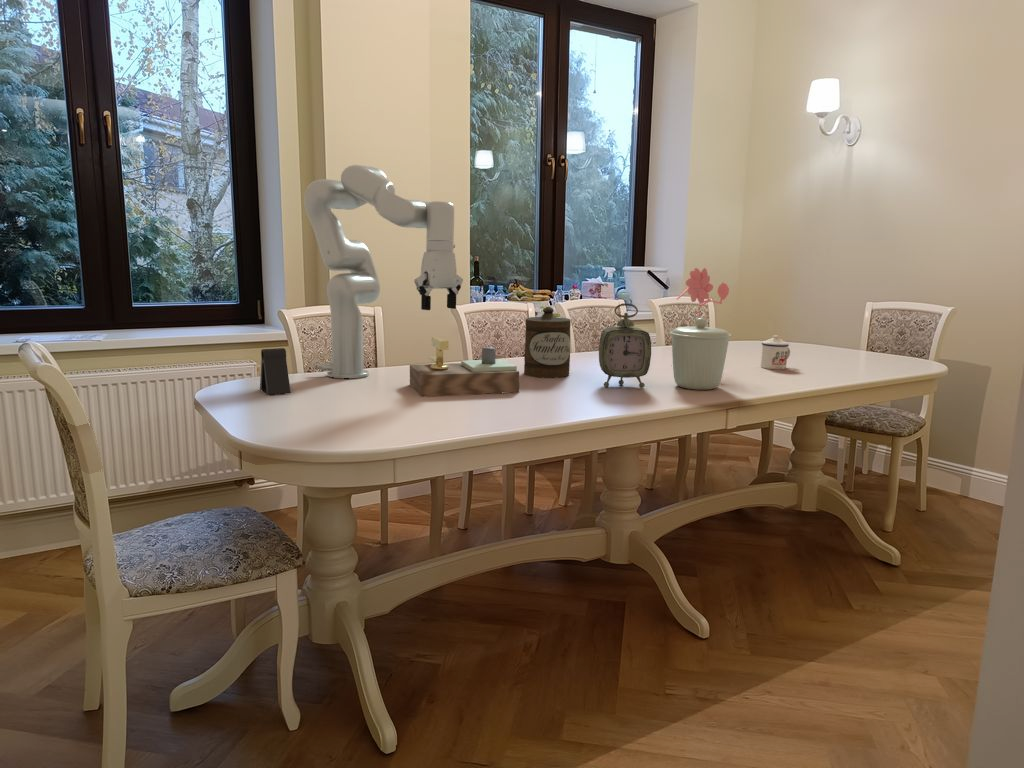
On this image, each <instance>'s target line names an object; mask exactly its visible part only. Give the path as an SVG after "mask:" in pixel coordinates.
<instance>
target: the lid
mask: <svg viewBox="0 0 1024 768" xmlns="http://www.w3.org/2000/svg"><path fill="white" fill-rule="evenodd" d="M496 349H497V348H496V347H495V346H494V347H491V346H485V347H481V359H478V360H477V359H476V360H475V359H474V360H473V359H472V360H471V359H470V360H461V361H460V363H461V365H463V366H464V367H466V368H468V369H469V370H471V371H472V372H482V371H512V370H517V371H518V369H517V368H518V367H517V365H515V364H513V363H511V362H509V361H507V360H505V359H496V356H497V355H496V353H497V352H496Z"/></svg>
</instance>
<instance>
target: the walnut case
mask: <svg viewBox="0 0 1024 768" xmlns="http://www.w3.org/2000/svg"><path fill="white" fill-rule="evenodd" d="M431 365H436V363H427V364H426V363H425V364H424V363H423V364H419V363H417V364H409V386H410V387H411V388H412V389H414V391H415V392H417V393H418V395H420V397H421V398H422V397H424V396H426V397H443V396H442V395H450V396H463V395H462V394H474V395H486V394H485V393H497V394H503V393H502V392H519V393H520V371H519V370H518V369H517V370H512V371H482V372H472V371H471V370H469V369H468V368H466V367H464V366H463V365H461V362H457V363H443V365H448V366H449V369H447V370H433V369H431ZM440 395H441V396H440Z"/></svg>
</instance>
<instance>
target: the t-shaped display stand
mask: <svg viewBox="0 0 1024 768" xmlns="http://www.w3.org/2000/svg"><path fill="white" fill-rule="evenodd" d="M431 346H432V347H434V348H436V349H435V353H436V354H435V355H428V356H427V358H428V359H429V360H430V361H431V362H433V364H436V365H431V369H433V370H447V369H449V366H448V365H443V364H444V351H446V350H449V340H447V339H445V338H442V337H441V336H431Z"/></svg>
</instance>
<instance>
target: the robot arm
mask: <svg viewBox="0 0 1024 768" xmlns="http://www.w3.org/2000/svg"><path fill="white" fill-rule="evenodd" d="M303 200H304V201H303V203H304V204H303V205H304V209H305V212H306V216H307V218H308V220H309V223H310V225H311V227H312V229H313V231H314V235H315V239H316V242H317V246H318V249H319V252H320V256H321V259H322V261H323V264H324V265H325V267H326V269H328V270H330V271H334V272H347V273H338V274H336V275H333V276H332V277H331V278H330V279H329V281H328V283H327V285H326V294H327V298H328V303H329V309H330V325H331V329H330V330H331V359H330V362H327V363H316V369H317V370H316V371H320V370H321V371H327V374H326V375H327V377H329V378H332V377H334V379H344V378H349V379H360V378H365V377H368V376H369V370H366V369H364V331H363V330H364V328H363V327H364V325H363V324H364V323H363V315H362V312H361V310H360V308H359V305H360V304H362V305H363V304H371V303H374V302H375V301H377V300H378V298H379V296H380V293H381V284H380V280H379V277H378V273H377V270H376V267H375V263H374V261H373V257H372V254H371V251H370V250H369V248H368V246H367V245H366V244H365V243H364V242H362V241H360V240H357V239H356V240H354V239H353V240H352V239H347V237H346V236H345V233H344V229H343V226H342V223H341V221H340V220H339V218H338V217H337V216H336V215H335V213H333V211H332V209H333V210H347V211H348V210H349V211H351V210H356V209H358V208H360V207H362V206H364V205H366V204H369V205H371V206H373V207H374V209H375V211H376V212H377V214H378V215H379V216H380V217H381V218H383V219H385V220H386V221H389V222H391V223H392V224H393V225H396V226H398V227H402V228H412V229H413V228H414V229H415V228H416V229H426V242H425V243H426V245H425V246H426V247H425V249H426V251H424V252H423V254H422V255H423V256H422V258H421V259H422V260H421V267H420V268H421V269H420V275H419V276H418V277H416V278H415V279H414V280H413V281H414V284H415V287H416V290H417V291H418V293H419V296H421V301H420V303H421V305H420V309H421V310H422V311H430V310H431V307H432V306H431V301H432V297H431V295H430V294H431V293H432V291H433V290H434V289H438V290H439V289H440V290H441V289H446V290H447V292H448V293H447V295H446V307H447V309H455V310H456V308H457V295H458V294H459V291H460V290H461V288H462V284H463V282H464V278H463V277H461V276H460V275H458V273H457V260H456V254H455V252H454V249H455V248H456V244H455V242H454V240H455V239H454V238H455V237H454V236H455V206H454V203H451V202H449V201H425V200H417V199H416V200H415V199H406V198H403V197H401V196H399V195H397V194H396V187H395V185H394V184H393V182H391V181H390V180H388V178H387V175H386V174H385V173H384V172H383V171H382V170H381V169H379V168H377V167H374V166H366V165H359V164H352V165H350V166H349V165H348V166H347V167H345V168H344V169H343V171H342V172H341V174H340V180H336V179H327V178H325V179H324V178H322V179H317V180H314V181H312V182H311V183H309V184H308V186H307V187H306V190H305V193H304V199H303Z"/></svg>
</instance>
